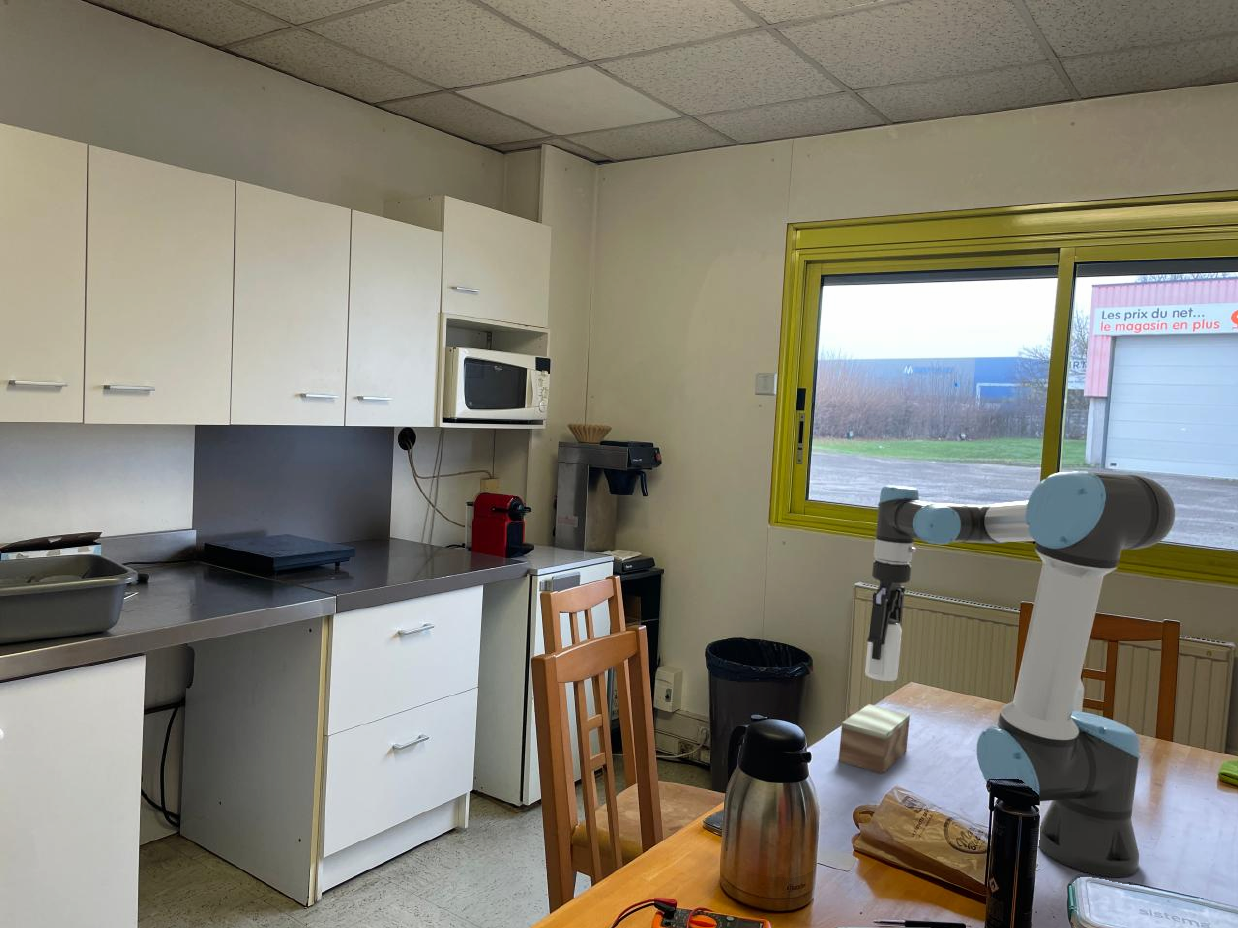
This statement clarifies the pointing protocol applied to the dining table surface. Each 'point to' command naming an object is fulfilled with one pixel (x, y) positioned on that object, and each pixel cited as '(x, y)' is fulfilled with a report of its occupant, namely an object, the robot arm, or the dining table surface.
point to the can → (888, 653)
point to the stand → (874, 738)
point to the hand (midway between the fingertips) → (881, 670)
